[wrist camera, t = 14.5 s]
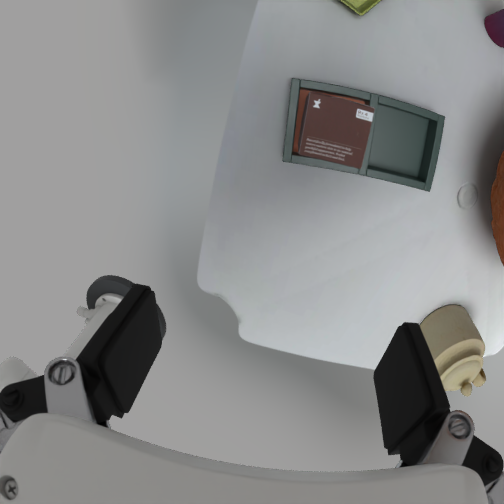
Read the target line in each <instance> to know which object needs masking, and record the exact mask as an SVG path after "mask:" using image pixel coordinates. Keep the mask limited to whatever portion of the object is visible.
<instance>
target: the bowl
mask: <svg viewBox="0 0 504 504" xmlns="http://www.w3.org/2000/svg"><path fill="white" fill-rule="evenodd" d="M496 176H497V177H496V179H495V180H494V182H493V184H492V189H491V198H490V199H491V210H492V216H493V220H492V222H491V225H492V230H493V236H494V239H495V241H496V246H497V250H498V254H499V256H500V259H501V261H502V263H503V265H504V151H503V153H502V155H501V157H500V160H499V163H498V167H497V174H496Z"/></svg>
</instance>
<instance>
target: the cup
mask: <svg viewBox="0 0 504 504" xmlns="http://www.w3.org/2000/svg"><path fill="white" fill-rule="evenodd" d="M485 28H486V31H487V33H488V35H489V36H490V38H491V39H492V40H493V42H494V43H496V44H497V45H498V46H500V47H503V48H504V9H502V10H500V11H498V12H496V13H494V14H491V15H489V16H487V17H486V18H485Z"/></svg>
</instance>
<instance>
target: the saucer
mask: <svg viewBox="0 0 504 504" xmlns="http://www.w3.org/2000/svg"><path fill="white" fill-rule="evenodd" d="M340 1H342V2H343V3H344V4H346V5H347V6H348V7H350V8H351V9H352V10H353V11H355V12H356V13H357V14H358V15H364V14H365V13H366V12H367V11H369V10H370V9H371V8H372V7H374V6H375V5H376V4H377V3H378V2H380V1H381V0H340Z"/></svg>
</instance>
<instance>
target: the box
mask: <svg viewBox="0 0 504 504" xmlns="http://www.w3.org/2000/svg"><path fill="white" fill-rule="evenodd" d="M374 111H375V108H374V107H371V106H368V105H365V104H361V103H358V102H354V101H350V100H347V99H344V98H339V97H335V96H331V95H327V94H322V93H318V92H313V91H310V92H309V93H308V95H307V96H306V100H305V106H304V111H303V116H302V121H301V128H300V133H299V140H298V153H299V154H300V155H303V156H307V157H311V158H315V159H320V160H325V161H329V162H333V163H337V164H342V165H345V166H349V167H354V168H358V169H361V168H362V164H363V160H364V156H365V151H366V147H367V143H368V138H369V134H370V129H371V125H372V120H373V116H374Z"/></svg>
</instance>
